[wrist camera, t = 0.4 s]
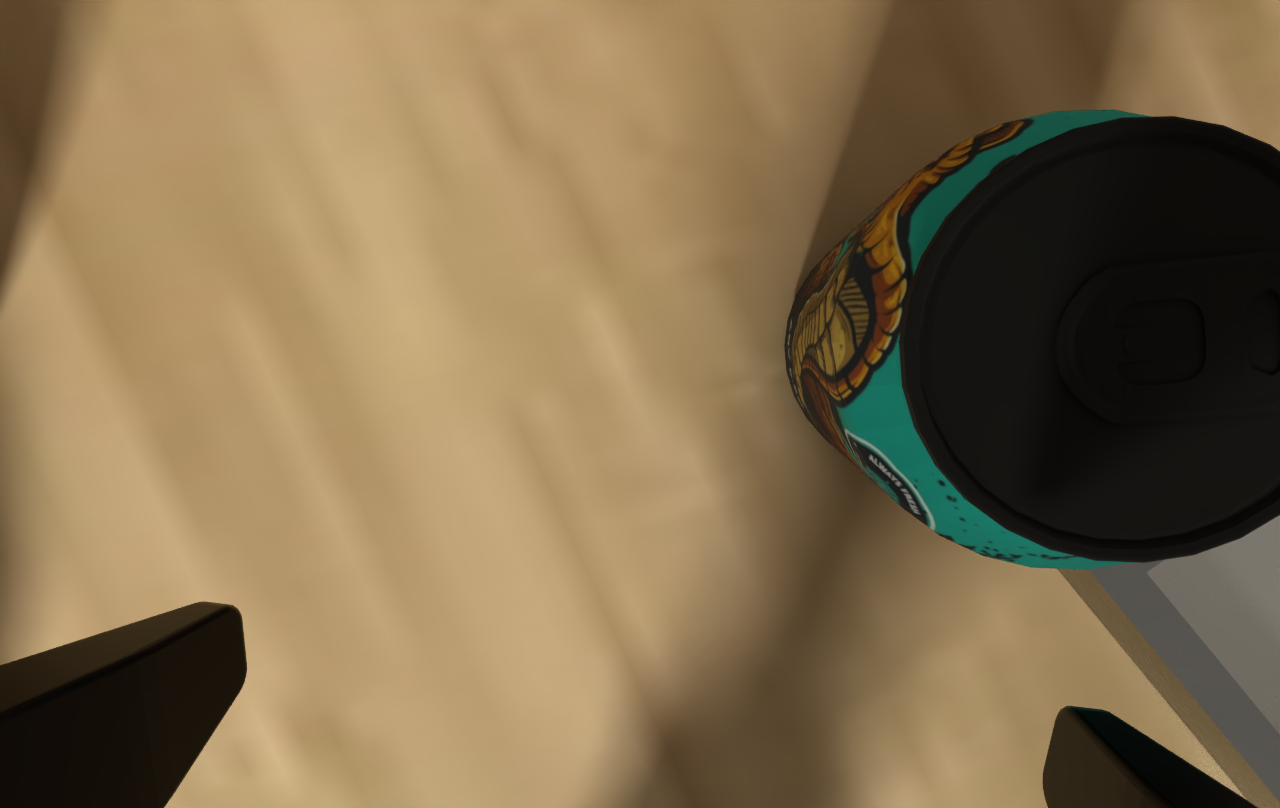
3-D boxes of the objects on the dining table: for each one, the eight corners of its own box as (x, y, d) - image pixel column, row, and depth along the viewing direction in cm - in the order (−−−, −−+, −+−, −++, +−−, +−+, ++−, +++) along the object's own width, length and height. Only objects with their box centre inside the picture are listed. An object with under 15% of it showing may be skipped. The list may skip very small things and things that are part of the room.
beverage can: (773, 237, 21) (836, 99, 10) (1025, 209, 21) (1436, 21, 9) (792, 475, 22) (875, 625, 10) (1039, 457, 21) (1448, 598, 9)
